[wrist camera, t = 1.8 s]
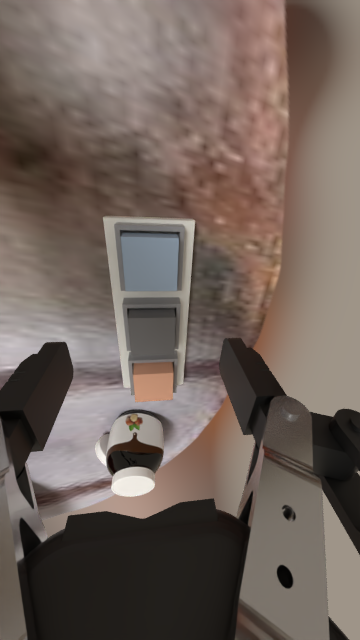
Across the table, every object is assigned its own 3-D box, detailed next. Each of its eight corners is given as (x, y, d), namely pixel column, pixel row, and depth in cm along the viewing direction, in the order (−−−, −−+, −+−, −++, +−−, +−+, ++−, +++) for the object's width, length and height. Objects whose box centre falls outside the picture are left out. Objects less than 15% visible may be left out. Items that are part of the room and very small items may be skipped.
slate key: (123, 232, 23) (120, 236, 21) (176, 234, 23) (178, 238, 21) (127, 283, 26) (125, 291, 23) (174, 283, 26) (176, 291, 24)
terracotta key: (134, 363, 32) (132, 374, 30) (172, 361, 33) (173, 372, 30) (136, 389, 35) (135, 402, 33) (171, 387, 35) (172, 399, 33)
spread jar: (166, 411, 44) (170, 476, 34) (151, 443, 49) (151, 507, 39) (105, 404, 41) (90, 472, 31) (96, 438, 46) (81, 507, 36)
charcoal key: (129, 308, 27) (127, 318, 25) (174, 308, 28) (175, 317, 26) (132, 344, 30) (131, 355, 28) (172, 343, 31) (174, 354, 29)
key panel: (106, 215, 25) (99, 219, 21) (192, 218, 26) (198, 223, 23) (125, 378, 38) (122, 397, 35) (181, 376, 39) (184, 393, 36)
